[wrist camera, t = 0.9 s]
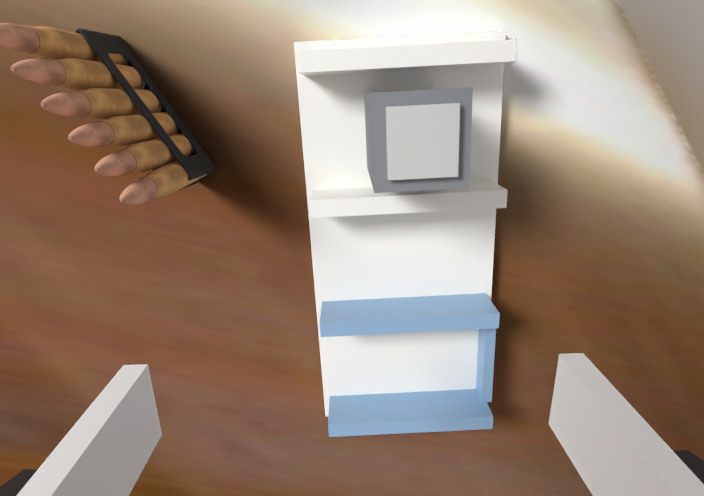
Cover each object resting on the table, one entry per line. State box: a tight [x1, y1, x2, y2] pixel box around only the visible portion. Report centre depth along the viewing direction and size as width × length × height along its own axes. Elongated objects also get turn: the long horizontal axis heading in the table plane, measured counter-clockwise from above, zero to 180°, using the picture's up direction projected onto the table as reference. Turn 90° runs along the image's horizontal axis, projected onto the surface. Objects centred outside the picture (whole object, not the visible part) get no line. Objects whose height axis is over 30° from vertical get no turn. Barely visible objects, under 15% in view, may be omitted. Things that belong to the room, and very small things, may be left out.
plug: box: [364, 87, 473, 193], centre depth 27 cm, size 5×5×9 cm
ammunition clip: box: [0, 23, 216, 205], centre depth 26 cm, size 11×2×12 cm, turn 33°
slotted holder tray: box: [294, 31, 517, 437], centre depth 33 cm, size 30×14×4 cm, turn 3°
